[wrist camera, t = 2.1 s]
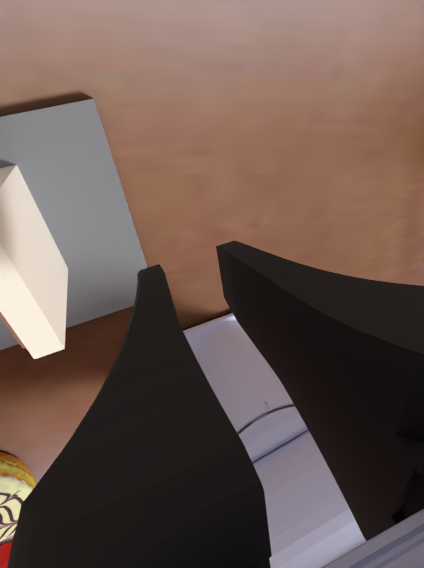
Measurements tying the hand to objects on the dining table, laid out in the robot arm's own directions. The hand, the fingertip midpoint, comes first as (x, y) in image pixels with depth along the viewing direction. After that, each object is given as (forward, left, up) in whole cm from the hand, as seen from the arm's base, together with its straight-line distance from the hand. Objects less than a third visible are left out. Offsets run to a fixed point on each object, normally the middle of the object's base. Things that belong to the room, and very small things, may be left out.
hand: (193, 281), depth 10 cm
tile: (0, +6, -10) cm, 11 cm away
